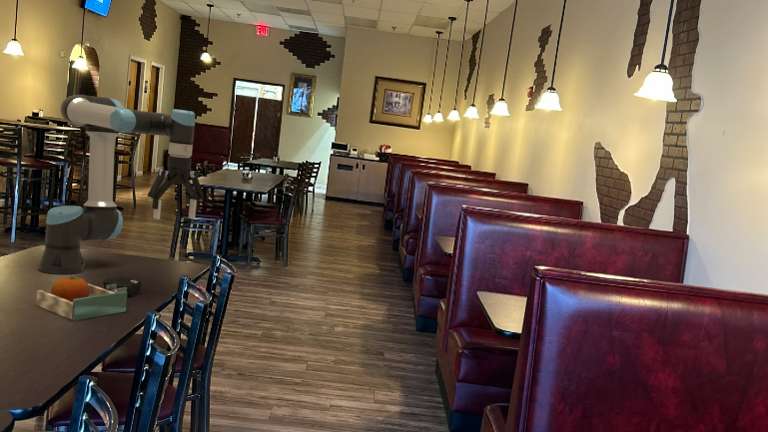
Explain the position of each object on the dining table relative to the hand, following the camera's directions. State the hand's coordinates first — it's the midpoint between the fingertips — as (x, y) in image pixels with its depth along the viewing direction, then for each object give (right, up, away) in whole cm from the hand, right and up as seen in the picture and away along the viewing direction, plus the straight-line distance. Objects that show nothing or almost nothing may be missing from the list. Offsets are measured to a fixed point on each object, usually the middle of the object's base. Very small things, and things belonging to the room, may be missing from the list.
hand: (174, 218), depth 220 cm
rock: (-17, -26, -4) cm, 31 cm away
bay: (-21, -27, -24) cm, 41 cm away
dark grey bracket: (-14, -27, -15) cm, 34 cm away
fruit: (-26, -26, -20) cm, 42 cm away
